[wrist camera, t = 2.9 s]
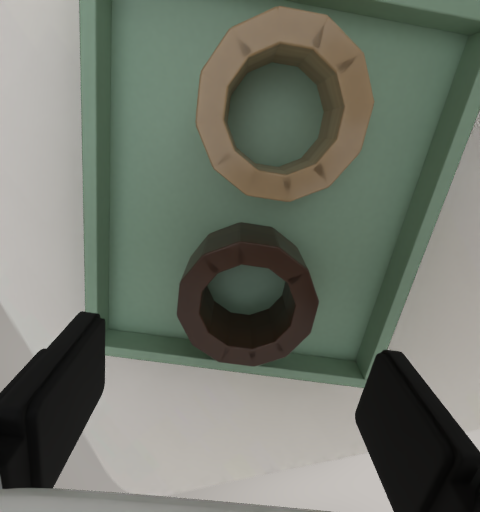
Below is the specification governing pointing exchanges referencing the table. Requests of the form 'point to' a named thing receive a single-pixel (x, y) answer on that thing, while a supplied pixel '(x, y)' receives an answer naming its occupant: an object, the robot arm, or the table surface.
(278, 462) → the table surface
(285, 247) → the walnut ring
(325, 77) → the birch ring
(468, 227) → the table surface
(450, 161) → the tray
